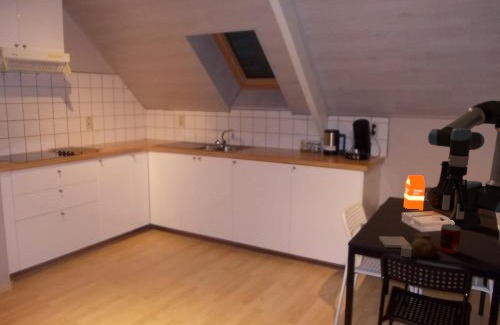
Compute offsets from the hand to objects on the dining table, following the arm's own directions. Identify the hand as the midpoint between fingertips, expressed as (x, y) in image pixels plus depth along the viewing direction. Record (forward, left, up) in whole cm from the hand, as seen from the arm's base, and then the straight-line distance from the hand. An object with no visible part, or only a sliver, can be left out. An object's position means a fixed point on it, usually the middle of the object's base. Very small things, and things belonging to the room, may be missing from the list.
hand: (452, 214), depth 184 cm
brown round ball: (+9, -7, -17) cm, 20 cm away
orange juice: (-9, -68, -17) cm, 71 cm away
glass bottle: (-28, -72, -17) cm, 79 cm away
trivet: (+21, -8, -17) cm, 28 cm away
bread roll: (+12, +2, -17) cm, 21 cm away
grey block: (+21, +7, -17) cm, 28 cm away
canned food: (0, 0, -17) cm, 17 cm away
